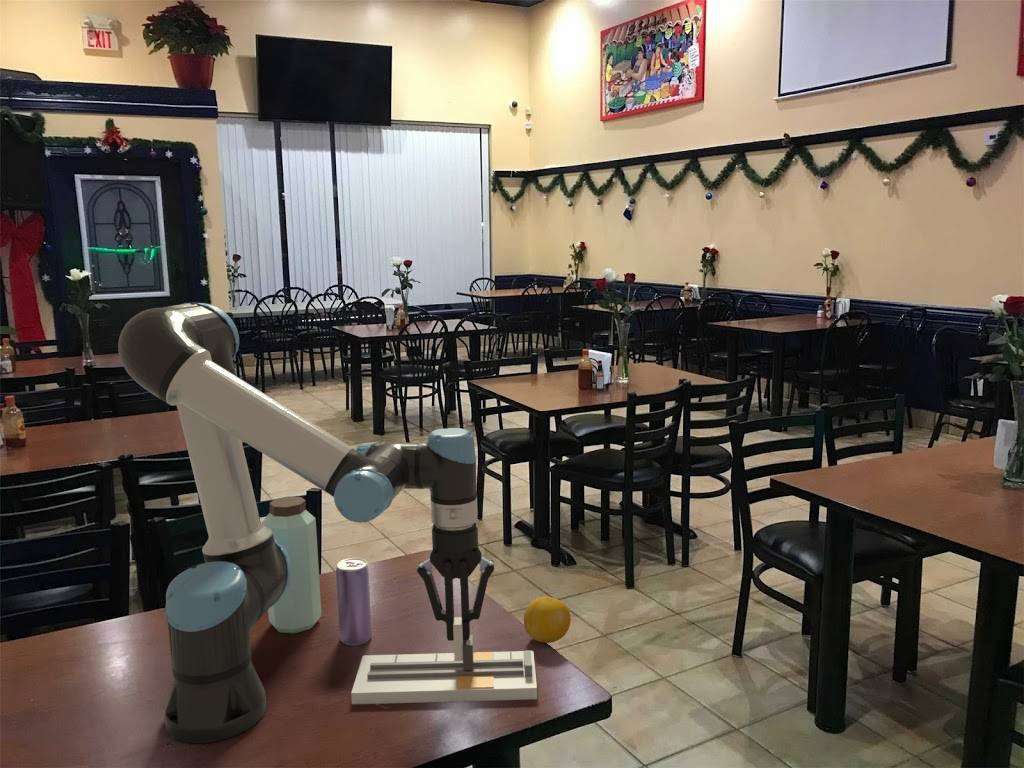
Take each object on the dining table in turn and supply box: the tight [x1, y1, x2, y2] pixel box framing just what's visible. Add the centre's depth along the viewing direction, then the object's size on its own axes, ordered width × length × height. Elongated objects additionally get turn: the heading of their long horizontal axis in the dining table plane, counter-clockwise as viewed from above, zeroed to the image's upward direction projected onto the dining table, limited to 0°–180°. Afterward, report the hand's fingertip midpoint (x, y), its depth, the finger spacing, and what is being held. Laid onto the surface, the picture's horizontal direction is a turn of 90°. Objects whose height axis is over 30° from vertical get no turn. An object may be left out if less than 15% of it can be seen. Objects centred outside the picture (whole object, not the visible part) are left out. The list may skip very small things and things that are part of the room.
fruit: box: [523, 595, 572, 644], centre depth 150 cm, size 9×8×8 cm
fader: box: [463, 634, 474, 670], centre depth 136 cm, size 2×4×6 cm, turn 1°
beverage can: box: [335, 557, 373, 647], centre depth 151 cm, size 6×6×15 cm
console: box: [350, 649, 538, 705], centre depth 137 cm, size 30×12×4 cm, turn 91°
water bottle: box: [261, 496, 322, 634], centre depth 157 cm, size 10×10×25 cm
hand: (459, 656), depth 136 cm, fingers closed
